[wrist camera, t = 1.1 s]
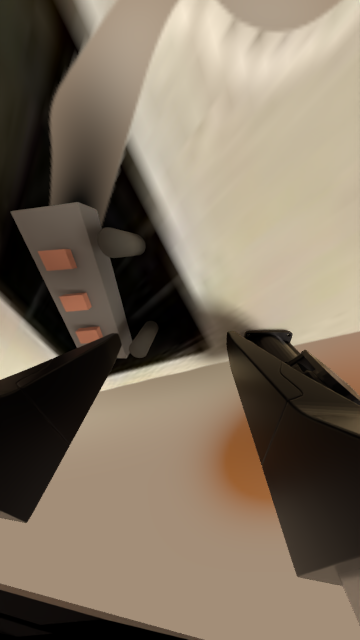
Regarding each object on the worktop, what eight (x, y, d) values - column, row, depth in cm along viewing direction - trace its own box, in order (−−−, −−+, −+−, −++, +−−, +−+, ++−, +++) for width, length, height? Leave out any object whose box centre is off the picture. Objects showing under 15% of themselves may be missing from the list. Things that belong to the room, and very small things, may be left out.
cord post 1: (143, 233, 17) (119, 226, 12) (146, 254, 18) (126, 257, 13) (125, 235, 18) (93, 228, 12) (129, 256, 19) (102, 258, 13)
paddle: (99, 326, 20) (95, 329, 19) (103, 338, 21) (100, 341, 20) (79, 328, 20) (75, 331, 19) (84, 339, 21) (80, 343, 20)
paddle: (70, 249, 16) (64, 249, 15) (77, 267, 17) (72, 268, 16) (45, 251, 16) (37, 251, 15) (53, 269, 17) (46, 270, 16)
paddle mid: (86, 292, 18) (82, 294, 17) (91, 306, 19) (88, 309, 18) (64, 294, 18) (58, 296, 17) (70, 309, 19) (65, 311, 18)
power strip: (96, 209, 17) (77, 202, 14) (133, 346, 25) (126, 358, 23) (38, 217, 18) (10, 211, 15) (93, 346, 26) (81, 357, 24)
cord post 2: (157, 320, 22) (145, 342, 17) (159, 333, 24) (148, 357, 18) (143, 320, 23) (126, 342, 17) (145, 333, 24) (131, 357, 19)
